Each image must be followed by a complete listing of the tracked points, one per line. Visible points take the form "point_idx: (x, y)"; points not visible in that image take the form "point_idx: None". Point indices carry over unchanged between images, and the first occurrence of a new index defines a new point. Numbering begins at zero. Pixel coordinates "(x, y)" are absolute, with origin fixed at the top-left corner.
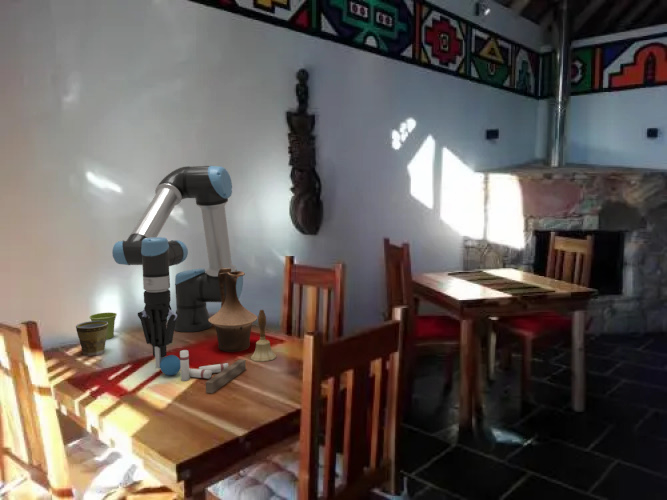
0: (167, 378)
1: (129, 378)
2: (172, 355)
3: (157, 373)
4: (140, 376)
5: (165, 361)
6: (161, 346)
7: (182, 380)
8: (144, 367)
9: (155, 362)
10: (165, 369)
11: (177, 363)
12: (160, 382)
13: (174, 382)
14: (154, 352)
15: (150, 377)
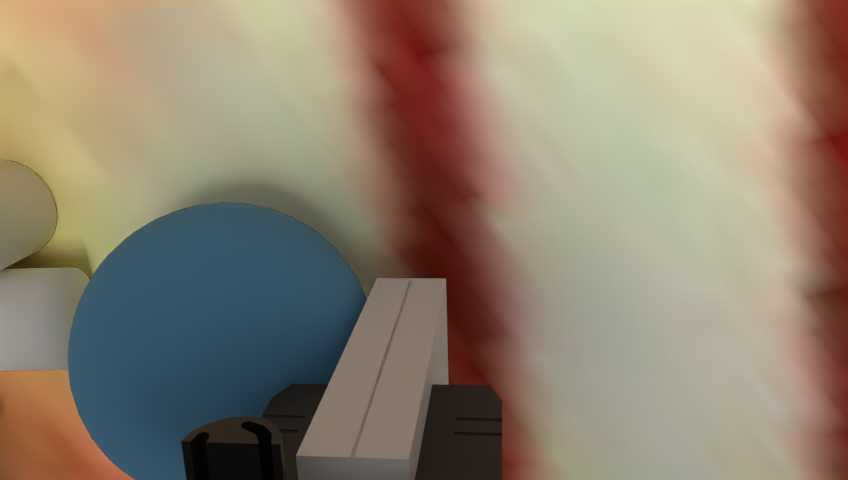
0: (231, 180)
1: (726, 34)
2: (139, 439)
3: (468, 297)
4: (618, 145)
5: (181, 272)
6: (195, 457)
7: (4, 160)
8: (771, 438)
9: (437, 312)
10: (208, 206)
11: (69, 339)
12: (217, 31)
13: (57, 85)
14: (463, 422)
15: (462, 151)
